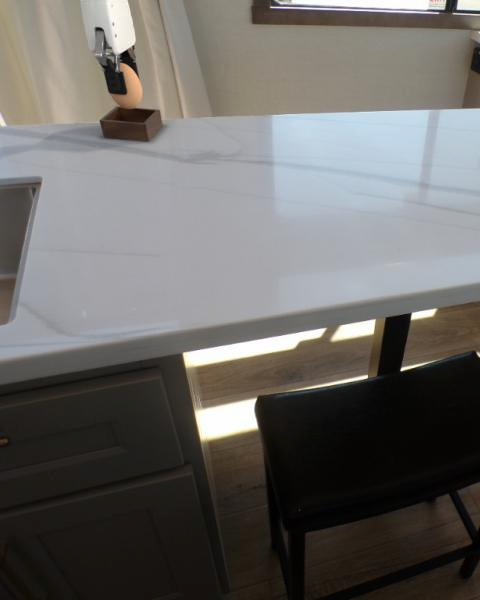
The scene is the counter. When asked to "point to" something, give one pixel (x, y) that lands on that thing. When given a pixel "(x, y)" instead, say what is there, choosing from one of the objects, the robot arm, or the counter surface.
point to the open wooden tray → (131, 124)
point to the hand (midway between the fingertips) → (124, 87)
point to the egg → (129, 89)
